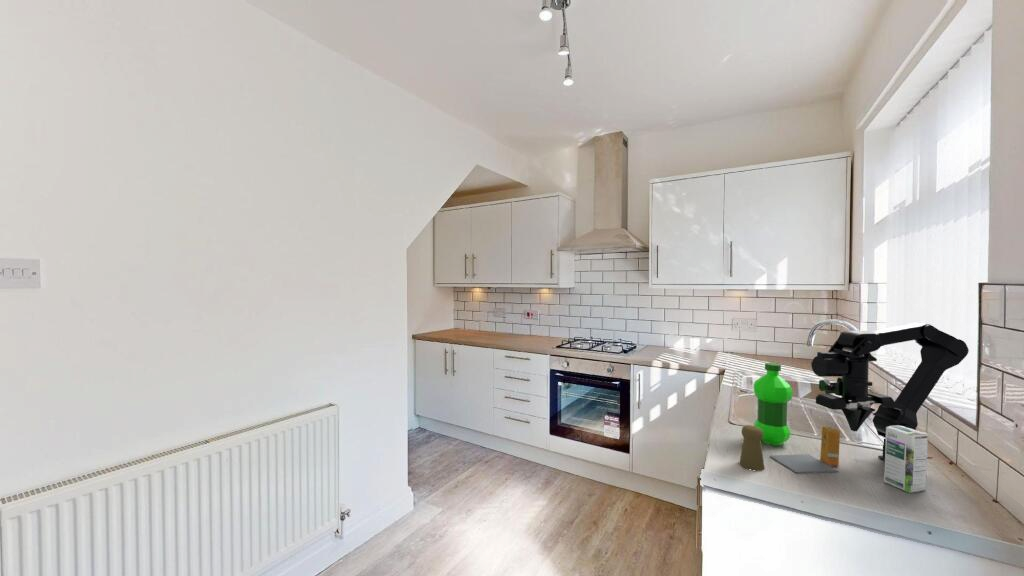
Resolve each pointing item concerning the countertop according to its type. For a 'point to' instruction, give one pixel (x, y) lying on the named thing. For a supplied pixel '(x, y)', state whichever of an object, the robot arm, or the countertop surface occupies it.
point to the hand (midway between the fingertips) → (853, 430)
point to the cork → (752, 448)
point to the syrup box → (906, 458)
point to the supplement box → (830, 446)
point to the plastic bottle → (772, 405)
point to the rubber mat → (803, 463)
